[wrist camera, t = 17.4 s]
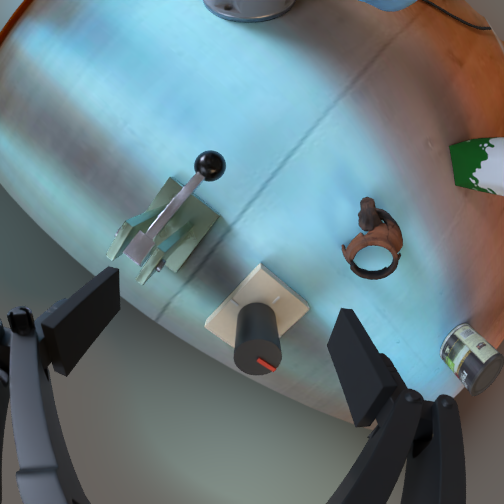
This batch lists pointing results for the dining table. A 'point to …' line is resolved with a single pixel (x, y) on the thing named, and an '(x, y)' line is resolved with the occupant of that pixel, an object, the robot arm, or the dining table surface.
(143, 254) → the tap lever
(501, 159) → the milk carton
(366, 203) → the broken clay pot
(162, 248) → the grey metal lever stand
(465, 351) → the coffee can
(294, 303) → the panel
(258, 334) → the tap knob
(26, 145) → the dining table surface
